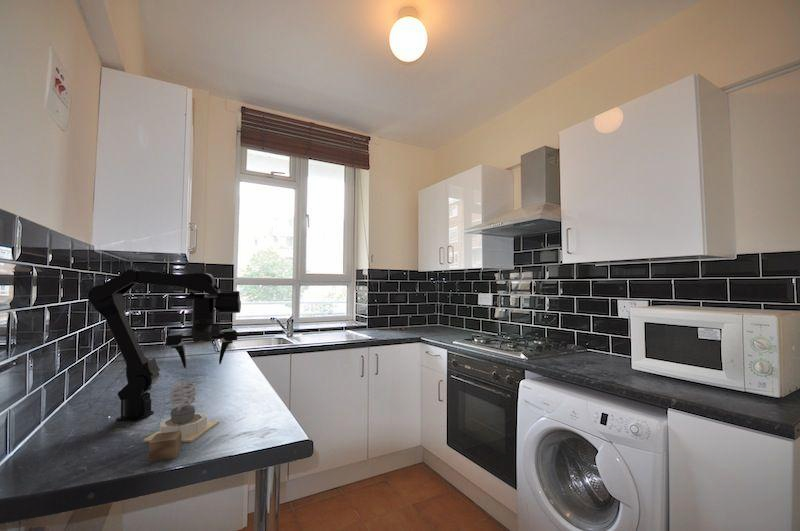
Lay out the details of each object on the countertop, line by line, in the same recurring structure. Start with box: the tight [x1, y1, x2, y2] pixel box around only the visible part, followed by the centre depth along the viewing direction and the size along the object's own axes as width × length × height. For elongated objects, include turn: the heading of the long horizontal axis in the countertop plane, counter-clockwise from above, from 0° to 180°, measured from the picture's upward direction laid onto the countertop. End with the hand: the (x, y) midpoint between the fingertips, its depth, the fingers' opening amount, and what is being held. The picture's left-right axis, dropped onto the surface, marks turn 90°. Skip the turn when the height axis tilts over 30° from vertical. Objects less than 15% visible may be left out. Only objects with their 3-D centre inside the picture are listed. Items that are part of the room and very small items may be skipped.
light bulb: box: [170, 381, 197, 426], centre depth 92 cm, size 6×6×12 cm
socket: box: [142, 412, 220, 443], centre depth 92 cm, size 12×12×3 cm
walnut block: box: [148, 431, 182, 462], centre depth 80 cm, size 5×5×4 cm
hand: (202, 365), depth 109 cm, fingers open, 9 cm apart
